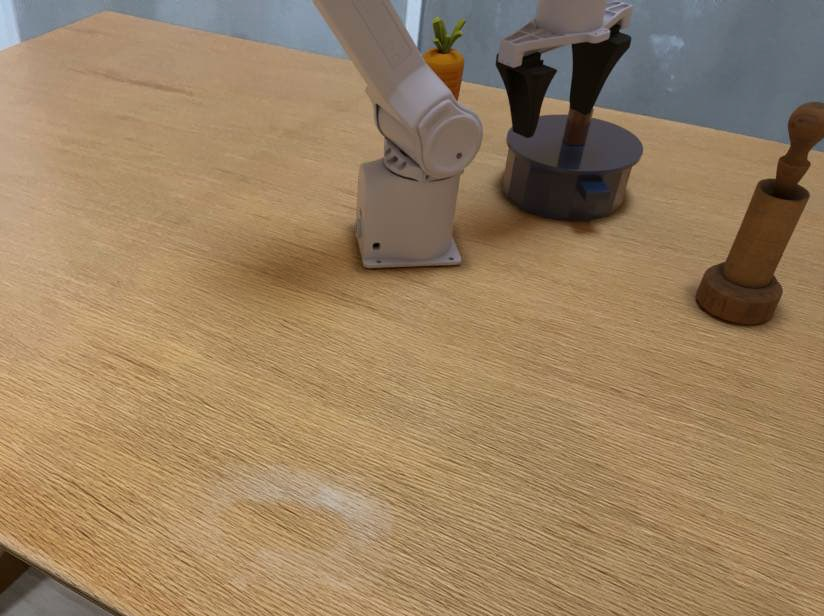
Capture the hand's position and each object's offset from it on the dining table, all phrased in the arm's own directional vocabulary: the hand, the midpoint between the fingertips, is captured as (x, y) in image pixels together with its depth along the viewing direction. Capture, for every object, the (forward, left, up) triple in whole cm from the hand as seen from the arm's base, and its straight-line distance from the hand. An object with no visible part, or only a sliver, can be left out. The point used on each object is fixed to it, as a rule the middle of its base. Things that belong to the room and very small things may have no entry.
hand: (551, 122), depth 79 cm
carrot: (-7, +18, -11) cm, 22 cm away
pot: (+5, +6, -10) cm, 13 cm away
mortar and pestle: (+14, -16, -11) cm, 24 cm away
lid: (+5, +6, -5) cm, 9 cm away
